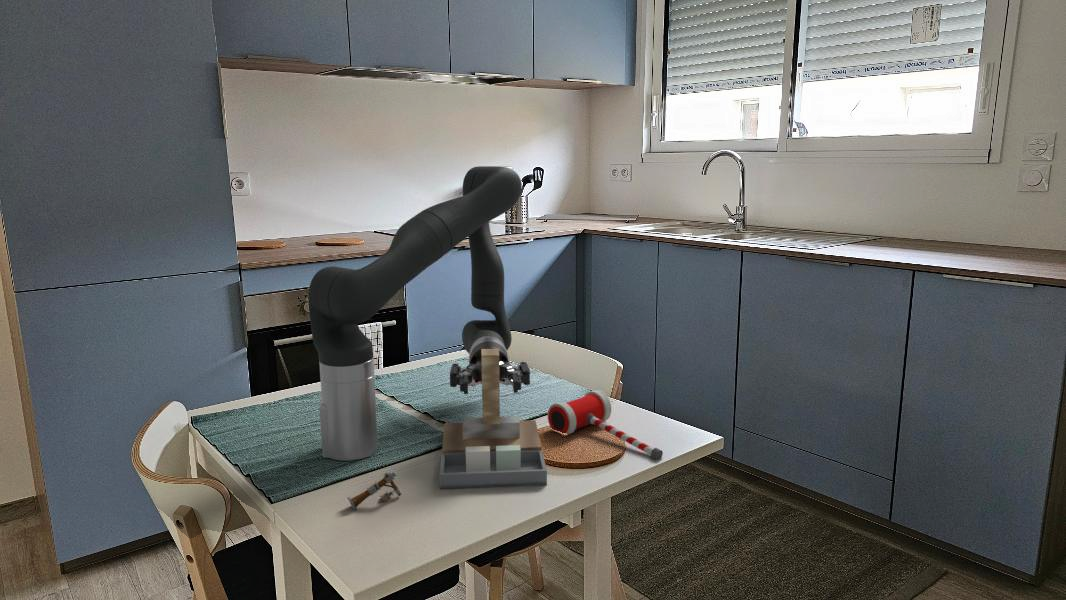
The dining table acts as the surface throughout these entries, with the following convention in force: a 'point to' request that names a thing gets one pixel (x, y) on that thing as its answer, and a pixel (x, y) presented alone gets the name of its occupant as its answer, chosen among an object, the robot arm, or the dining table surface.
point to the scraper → (491, 405)
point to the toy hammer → (591, 418)
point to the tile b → (508, 458)
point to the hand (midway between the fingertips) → (491, 388)
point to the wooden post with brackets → (373, 489)
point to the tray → (492, 472)
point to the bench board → (457, 445)
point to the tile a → (477, 458)
